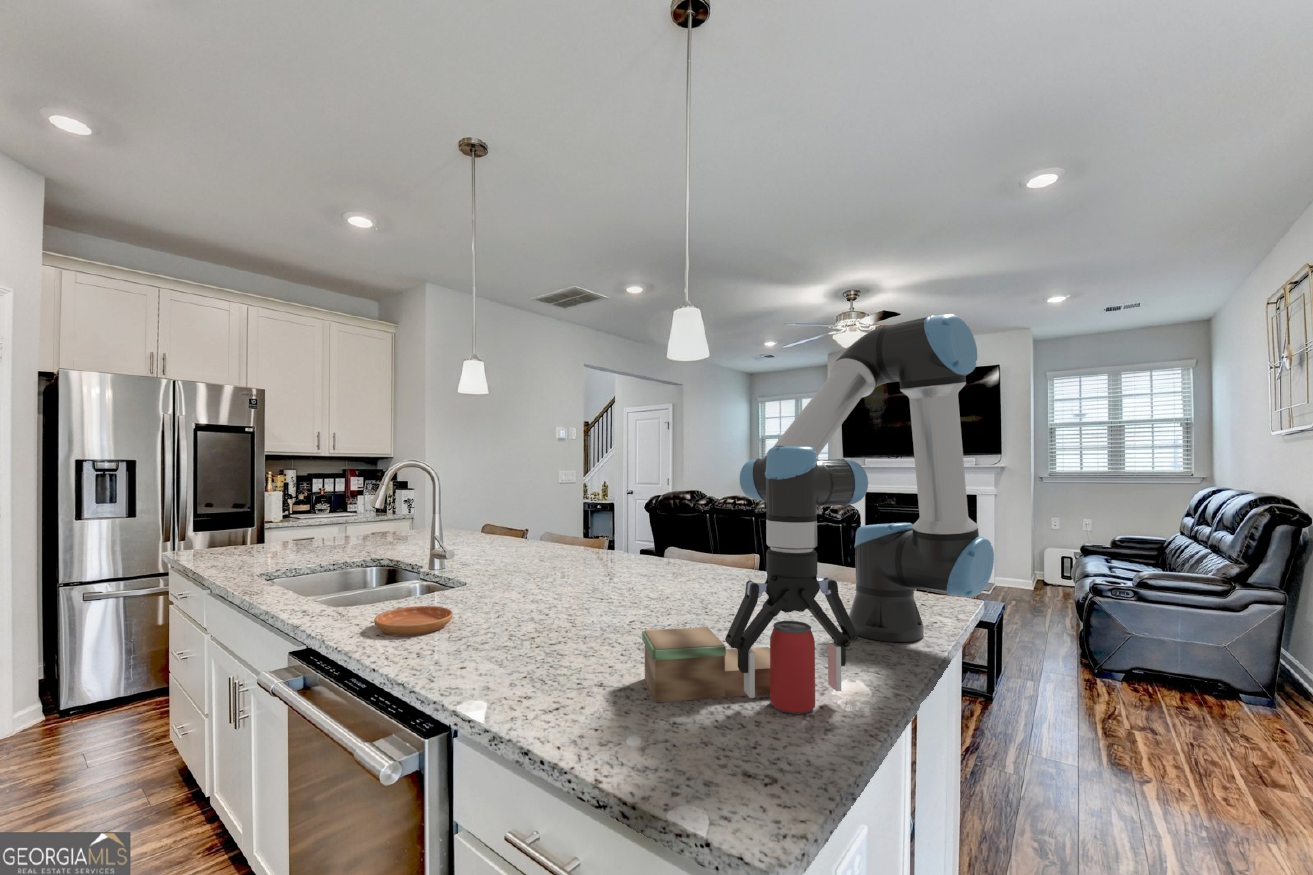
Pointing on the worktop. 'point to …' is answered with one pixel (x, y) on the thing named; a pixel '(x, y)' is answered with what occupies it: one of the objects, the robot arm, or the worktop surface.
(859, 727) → the worktop surface
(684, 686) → the step stand
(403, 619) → the saucer
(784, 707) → the beer can
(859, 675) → the worktop surface
